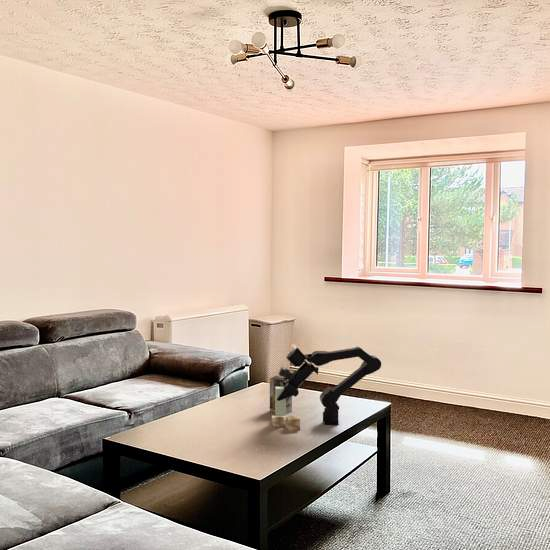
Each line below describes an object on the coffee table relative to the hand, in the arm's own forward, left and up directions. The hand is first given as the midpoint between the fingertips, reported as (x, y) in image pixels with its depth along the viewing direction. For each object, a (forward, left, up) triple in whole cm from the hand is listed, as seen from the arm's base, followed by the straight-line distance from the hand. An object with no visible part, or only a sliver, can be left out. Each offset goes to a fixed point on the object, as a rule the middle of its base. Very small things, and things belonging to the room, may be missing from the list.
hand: (277, 398), depth 263 cm
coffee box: (0, -20, -11) cm, 23 cm away
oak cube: (-7, +6, -11) cm, 15 cm away
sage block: (-1, 0, -7) cm, 7 cm away
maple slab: (-1, 0, -12) cm, 12 cm away
